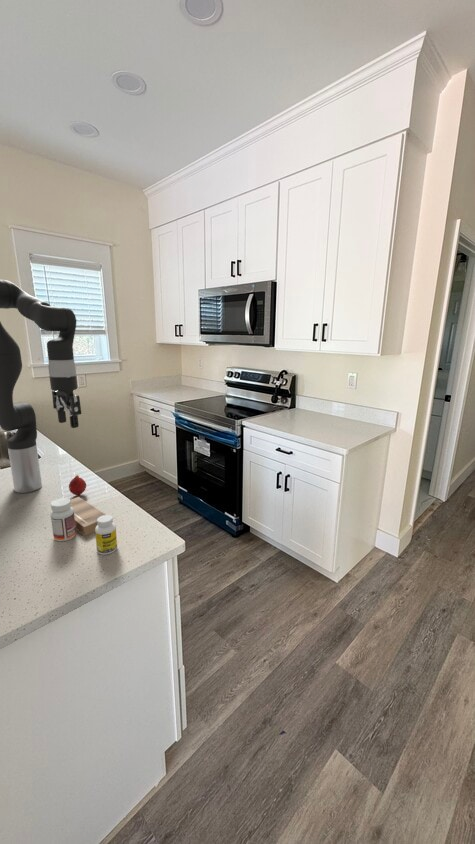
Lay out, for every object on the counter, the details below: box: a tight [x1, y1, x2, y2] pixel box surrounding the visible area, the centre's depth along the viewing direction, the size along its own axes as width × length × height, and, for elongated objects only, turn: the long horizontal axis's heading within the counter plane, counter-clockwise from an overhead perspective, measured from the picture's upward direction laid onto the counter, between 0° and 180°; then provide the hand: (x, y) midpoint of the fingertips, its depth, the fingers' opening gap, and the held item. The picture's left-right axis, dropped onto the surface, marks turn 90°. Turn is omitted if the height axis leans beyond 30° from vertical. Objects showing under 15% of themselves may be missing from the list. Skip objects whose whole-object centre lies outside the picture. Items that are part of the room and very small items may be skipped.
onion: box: [68, 474, 87, 497], centre depth 129 cm, size 6×6×8 cm
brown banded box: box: [70, 496, 106, 537], centre depth 114 cm, size 20×8×3 cm, turn 49°
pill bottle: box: [50, 497, 77, 542], centre depth 103 cm, size 6×6×11 cm
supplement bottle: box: [94, 514, 118, 556], centre depth 98 cm, size 5×5×10 cm
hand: (68, 424), depth 112 cm, fingers open, 8 cm apart
